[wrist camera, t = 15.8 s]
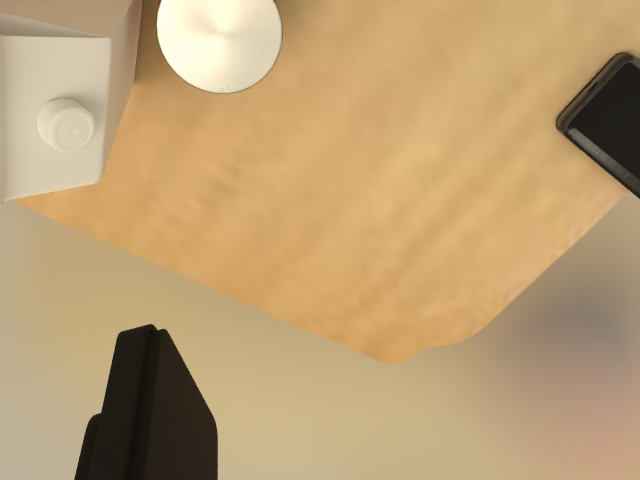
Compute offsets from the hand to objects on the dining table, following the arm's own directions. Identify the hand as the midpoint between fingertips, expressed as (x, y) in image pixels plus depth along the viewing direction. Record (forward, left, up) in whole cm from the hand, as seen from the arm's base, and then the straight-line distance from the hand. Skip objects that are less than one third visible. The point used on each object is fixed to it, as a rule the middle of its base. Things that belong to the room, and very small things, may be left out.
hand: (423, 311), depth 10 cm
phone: (-28, +20, -33) cm, 48 cm away
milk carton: (+12, -1, -34) cm, 36 cm away
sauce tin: (+3, 0, -33) cm, 34 cm away
